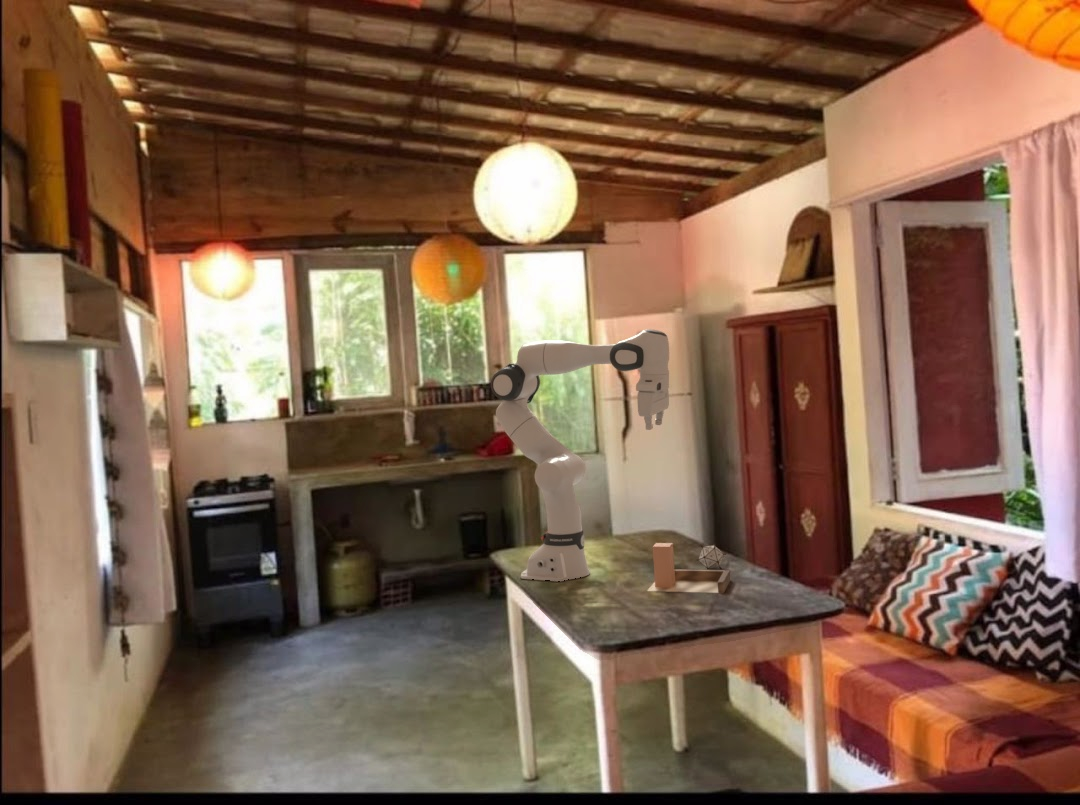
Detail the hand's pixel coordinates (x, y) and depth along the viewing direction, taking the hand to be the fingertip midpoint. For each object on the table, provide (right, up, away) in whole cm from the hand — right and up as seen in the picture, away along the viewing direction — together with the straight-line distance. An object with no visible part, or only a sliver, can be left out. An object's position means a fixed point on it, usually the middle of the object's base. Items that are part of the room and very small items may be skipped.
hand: (653, 427), depth 262 cm
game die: (+19, -46, +7) cm, 50 cm away
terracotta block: (+2, -46, -12) cm, 48 cm away
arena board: (+8, -47, -14) cm, 50 cm away
